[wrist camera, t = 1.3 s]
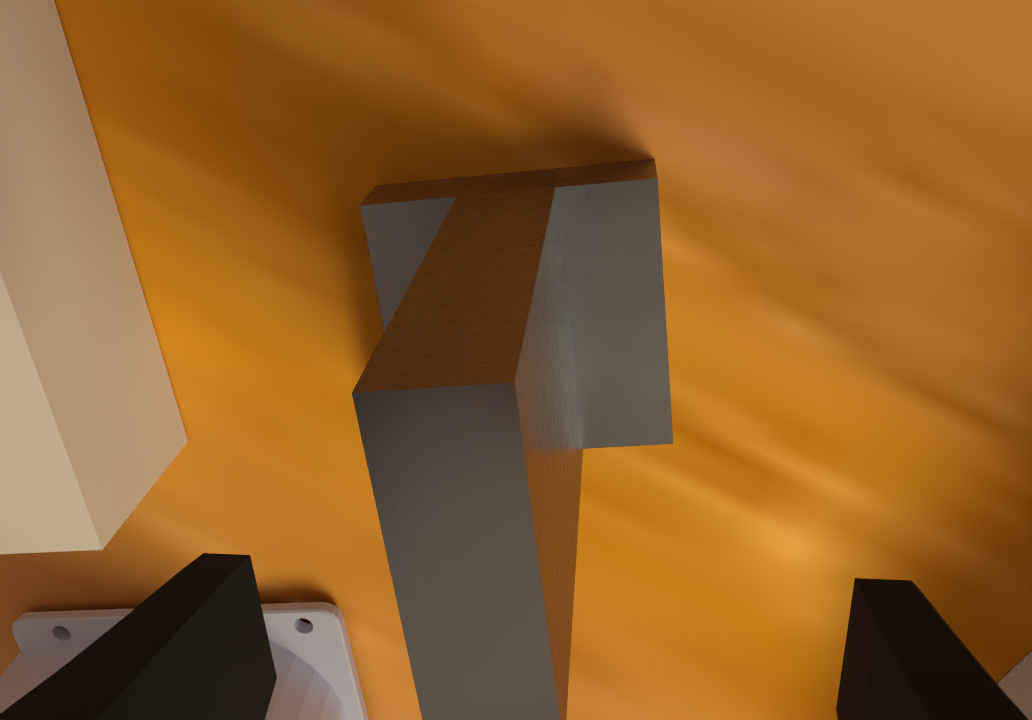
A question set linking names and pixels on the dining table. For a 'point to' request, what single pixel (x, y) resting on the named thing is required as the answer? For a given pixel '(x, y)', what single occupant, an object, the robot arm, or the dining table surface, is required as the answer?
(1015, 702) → the grey rounded block
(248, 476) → the dining table surface
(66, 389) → the well block
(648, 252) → the tall grey block
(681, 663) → the dining table surface
